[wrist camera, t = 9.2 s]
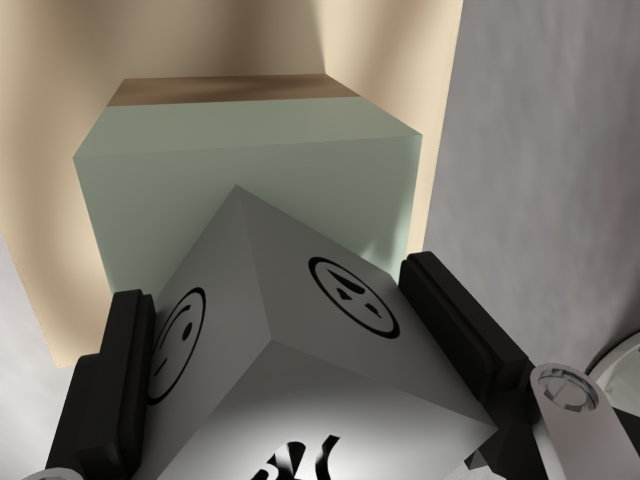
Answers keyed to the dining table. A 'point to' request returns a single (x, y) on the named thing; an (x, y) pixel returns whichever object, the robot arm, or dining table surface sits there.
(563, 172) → the dining table surface
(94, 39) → the oak board
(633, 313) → the dining table surface
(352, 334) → the dice cube
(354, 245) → the sage block
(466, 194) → the dining table surface
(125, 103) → the walnut block
